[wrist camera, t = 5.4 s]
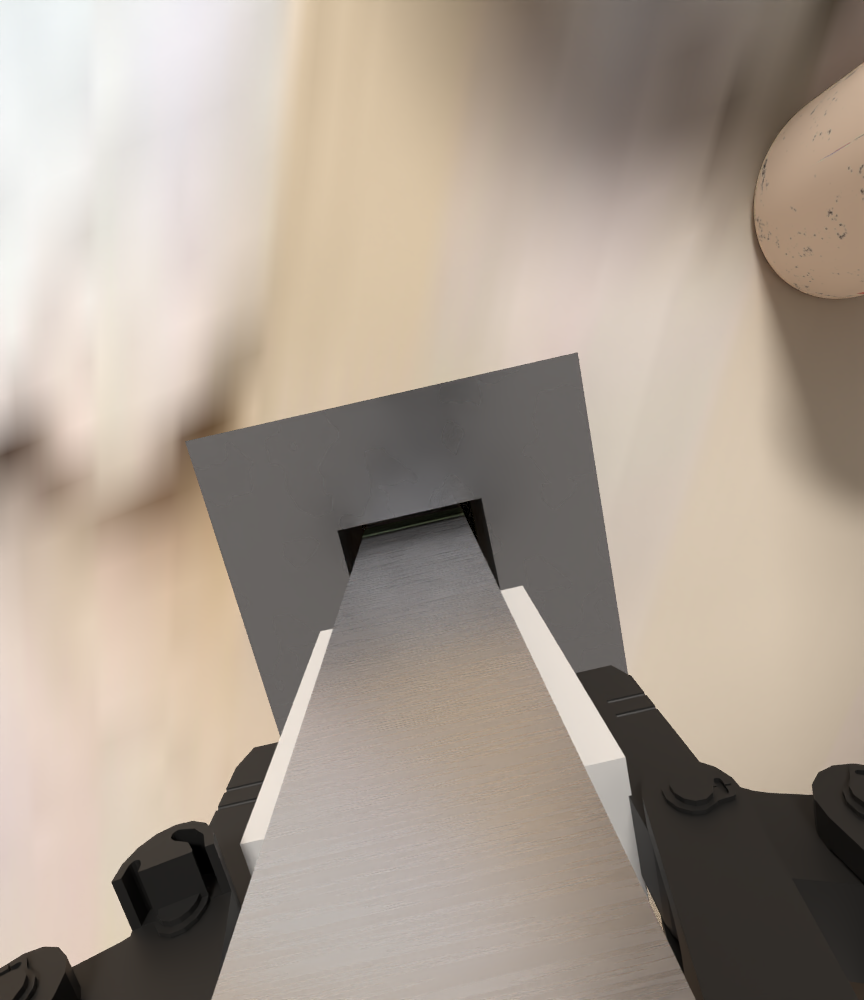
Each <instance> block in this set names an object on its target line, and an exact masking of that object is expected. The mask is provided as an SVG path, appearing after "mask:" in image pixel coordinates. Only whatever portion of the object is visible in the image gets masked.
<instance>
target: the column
mask: <svg viewBox="0 0 864 1000" xmlns="http://www.w3.org/2000/svg"><path fill="white" fill-rule="evenodd" d="M211 1000H696V999H695V997H694V995H693V993H692V991H691V989H690V987H689V985H688V982H687V980H686V978H685V976H684V974H683V972H682V970H681V968H680V966H679V964H678V962H677V959H676V957H675V955H674V953H673V951H672V949H671V947H670V945H669V943H668V941H667V939H666V936H665V934H664V932H663V930H662V928H661V926H660V924H659V922H658V920H657V918H656V915H655V913H654V911H653V909H652V907H651V905H650V903H649V901H648V899H647V897H646V895H645V892H644V890H643V888H642V886H641V884H640V882H639V880H638V878H637V876H636V874H635V872H634V869H633V867H632V865H631V863H630V861H629V859H628V857H627V855H626V853H625V851H624V849H623V846H622V844H621V842H620V840H619V838H618V836H617V834H616V832H615V830H614V828H613V826H612V823H611V821H610V819H609V817H608V815H607V813H606V811H605V809H604V807H603V805H602V802H601V800H600V798H599V796H598V794H597V792H596V790H595V788H594V786H593V784H592V782H591V779H590V777H589V775H588V773H587V771H586V769H585V767H584V765H583V763H582V761H581V759H580V756H579V754H578V752H577V750H576V748H575V746H574V744H573V742H572V740H571V738H570V736H569V733H568V731H567V729H566V727H565V725H564V723H563V721H562V719H561V717H560V715H559V712H558V710H557V708H556V706H555V704H554V702H553V700H552V698H551V696H550V694H549V692H548V689H547V687H546V685H545V683H544V681H543V679H542V677H541V675H540V673H539V671H538V669H537V666H536V664H535V662H534V660H533V658H532V656H531V654H530V652H529V650H528V648H527V646H526V643H525V641H524V639H523V637H522V635H521V633H520V631H519V629H518V627H517V625H516V623H515V620H514V618H513V616H512V614H511V612H510V610H509V608H508V606H507V604H506V602H505V599H504V597H503V595H502V593H501V591H500V589H499V587H498V585H497V583H496V581H495V579H494V576H493V574H492V572H491V570H490V568H489V566H488V564H487V562H486V560H485V558H484V556H483V553H482V551H481V549H480V547H479V545H478V543H477V541H476V539H475V537H474V535H473V533H472V530H471V528H470V526H469V524H468V522H467V520H466V518H465V516H464V512H463V510H462V508H461V507H460V505H459V503H457V504H452V505H448V506H444V507H439V508H435V509H430V510H426V511H422V512H417V513H413V514H408V515H404V516H400V517H395V518H391V519H386V520H382V521H378V522H373V523H369V524H367V527H366V529H365V531H364V534H363V539H362V542H361V545H360V548H359V551H358V554H357V557H356V560H355V563H354V566H353V569H352V572H351V575H350V578H349V582H348V585H347V588H346V591H345V594H344V597H343V600H342V603H341V606H340V609H339V612H338V615H337V618H336V621H335V624H334V627H333V630H332V633H331V636H330V639H329V643H328V646H327V649H326V652H325V655H324V658H323V661H322V664H321V667H320V670H319V673H318V676H317V679H316V682H315V685H314V688H313V691H312V694H311V697H310V700H309V704H308V707H307V710H306V713H305V716H304V719H303V722H302V725H301V728H300V731H299V734H298V737H297V740H296V743H295V746H294V749H293V752H292V755H291V758H290V761H289V765H288V768H287V771H286V774H285V777H284V780H283V783H282V786H281V789H280V792H279V795H278V798H277V801H276V804H275V807H274V810H273V813H272V816H271V819H270V823H269V826H268V829H267V832H266V835H265V838H264V841H263V844H262V847H261V850H260V853H259V856H258V859H257V862H256V865H255V868H254V871H253V874H252V877H251V880H250V884H249V887H248V890H247V893H246V896H245V899H244V902H243V905H242V908H241V911H240V914H239V917H238V920H237V923H236V926H235V929H234V932H233V935H232V938H231V941H230V945H229V948H228V951H227V954H226V957H225V960H224V963H223V966H222V969H221V972H220V975H219V978H218V981H217V984H216V987H215V990H214V993H213V996H212V999H211Z"/></svg>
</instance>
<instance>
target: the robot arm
mask: <svg viewBox="0 0 864 1000" xmlns="http://www.w3.org/2000/svg"><path fill="white" fill-rule="evenodd" d="M501 593H502V595H503V597H504V599H505V602H506V604H507V606H508V608H509V610H510V612H511V614H512V616H513V618H514V620H515V623H516V625H517V627H518V629H519V631H520V633H521V635H522V637H523V639H524V641H525V643H526V646H527V648H528V650H529V652H530V654H531V656H532V658H533V660H534V662H535V664H536V666H537V669H538V671H539V673H540V675H541V677H542V679H543V681H544V683H545V685H546V687H547V689H548V692H549V694H550V696H551V698H552V700H553V702H554V704H555V706H556V708H557V710H558V712H559V715H560V717H561V719H562V721H563V723H564V725H565V727H566V729H567V731H568V733H569V736H570V738H571V740H572V742H573V744H574V746H575V748H576V750H577V752H578V754H579V756H580V759H581V761H582V763H583V765H584V767H585V769H586V771H587V773H588V775H589V777H590V779H591V782H592V784H593V786H594V788H595V790H596V792H597V794H598V796H599V798H600V800H601V802H602V805H603V807H604V809H605V811H606V813H607V815H608V817H609V819H610V821H611V823H612V826H613V828H614V830H615V832H616V834H617V836H618V838H619V840H620V842H621V844H622V846H623V849H624V851H625V853H626V855H627V857H628V859H629V861H630V863H631V865H632V867H633V869H634V872H635V874H636V876H637V878H638V880H639V882H640V884H641V886H642V888H643V890H644V892H645V895H646V897H647V899H648V893H647V887H648V890H649V892H650V894H651V896H652V898H653V900H654V902H655V904H656V906H657V908H658V910H659V912H660V914H661V919H662V926H663V932H664V934H665V936H666V939H667V941H668V943H669V945H670V947H671V949H672V951H673V953H674V955H675V957H676V959H677V962H678V964H679V966H680V968H681V970H682V972H683V974H684V976H685V978H686V980H687V982H688V985H689V987H690V989H691V991H692V993H693V995H694V997H695V999H696V1000H864V765H860V764H843V765H833V766H831V767H829V768H827V769H825V770H823V771H821V772H819V773H818V774H817V776H816V778H815V780H814V782H813V784H812V790H813V795H800V794H779V793H766V792H758V791H752V790H748V789H745V788H741V787H740V786H739V785H738V784H737V783H736V782H735V780H734V779H733V778H732V777H730V776H729V775H727V774H726V773H724V772H722V771H721V770H719V769H718V768H716V767H714V766H711V765H707V764H704V763H701V762H699V761H698V759H697V758H696V757H695V756H694V754H693V753H692V752H691V750H690V749H689V748H688V747H687V745H686V744H685V743H684V742H683V740H682V739H681V738H680V737H679V735H678V734H677V733H676V732H675V730H674V729H673V728H672V727H671V725H670V724H669V723H668V722H667V720H666V719H665V718H664V717H663V715H662V714H661V713H660V712H659V710H658V709H656V708H655V705H654V704H653V703H652V701H651V700H650V699H649V698H648V696H647V695H646V696H645V694H644V691H643V690H642V689H641V688H640V686H639V685H638V684H637V683H636V681H635V680H634V679H633V678H632V676H630V675H628V674H626V673H625V672H623V671H621V670H619V669H617V668H616V667H614V666H612V665H609V666H605V667H600V668H596V669H591V670H587V671H583V672H578V673H575V672H574V671H573V669H572V667H571V666H570V664H569V662H568V661H567V659H566V657H565V656H564V654H563V652H562V651H561V649H560V647H559V646H558V644H557V642H556V641H555V639H554V637H553V636H552V634H551V632H550V631H549V629H548V627H547V626H546V624H545V622H544V621H543V619H542V617H541V616H540V614H539V612H538V611H537V609H536V607H535V606H534V604H533V602H532V601H531V599H530V597H529V596H528V594H527V592H526V591H525V589H524V587H523V586H519V587H514V588H510V589H505V590H501ZM332 630H333V629H329V630H324V631H320V634H319V636H318V639H317V641H316V644H315V647H314V649H313V652H312V655H311V657H310V660H309V663H308V665H307V668H306V671H305V673H304V676H303V679H302V681H301V684H300V686H299V689H298V692H297V694H296V697H295V700H294V702H293V705H292V708H291V710H290V713H289V716H288V718H287V721H286V724H285V726H284V729H283V732H282V734H281V737H280V739H279V742H277V743H273V744H268V745H264V746H259V747H255V748H253V749H252V751H251V752H250V753H249V754H248V755H247V756H246V757H245V758H244V759H243V761H242V762H241V763H240V764H239V765H238V766H237V767H236V769H235V771H234V773H233V776H232V778H231V780H230V782H229V784H228V786H227V788H226V789H227V792H226V793H224V795H223V797H222V799H221V801H220V803H219V806H218V811H216V812H215V814H214V816H213V818H212V821H211V823H210V825H209V826H208V825H207V824H206V823H203V822H196V821H191V822H187V823H182V824H178V825H175V826H173V827H171V828H169V829H166V830H164V831H162V832H160V833H158V834H156V835H155V836H154V837H152V838H151V839H150V840H148V841H147V842H146V843H144V844H143V845H141V846H140V847H139V848H138V849H137V850H136V851H135V852H134V853H133V854H132V855H131V856H130V857H129V858H128V859H127V860H126V861H125V862H124V863H123V864H122V866H121V867H120V869H119V871H118V872H117V874H116V875H115V877H114V879H113V880H112V885H113V887H114V889H115V892H116V894H117V896H118V899H119V901H120V903H121V906H122V908H123V910H124V912H125V915H126V917H127V919H128V922H129V924H130V926H131V929H132V933H131V936H130V937H129V938H127V939H125V940H124V941H122V942H120V943H118V944H116V945H115V946H113V947H111V948H109V949H107V950H105V951H103V952H101V953H99V954H97V955H95V956H93V957H91V958H89V959H87V960H85V961H83V962H81V963H79V964H78V965H76V966H74V967H71V965H70V963H69V961H68V959H67V956H66V955H65V954H64V953H63V952H62V951H61V949H60V948H59V947H42V948H39V949H36V950H33V951H31V952H28V953H25V954H23V955H21V956H20V957H18V958H16V959H15V960H13V961H11V962H10V963H8V964H7V965H5V966H3V967H2V968H0V1000H211V999H212V996H213V993H214V990H215V987H216V984H217V981H218V978H219V975H220V972H221V969H222V966H223V963H224V960H225V957H226V954H227V951H228V948H229V945H230V941H231V938H232V935H233V932H234V929H235V926H236V923H237V920H238V917H239V914H240V911H241V908H242V905H243V902H244V899H245V896H246V893H247V890H248V887H249V884H250V880H251V877H252V874H253V871H254V868H255V865H256V862H257V859H258V856H259V853H260V850H261V847H262V844H263V841H264V838H265V835H266V832H267V829H268V826H269V823H270V819H271V816H272V813H273V810H274V807H275V804H276V801H277V798H278V795H279V792H280V789H281V786H282V783H283V780H284V777H285V774H286V771H287V768H288V765H289V761H290V758H291V755H292V752H293V749H294V746H295V743H296V740H297V737H298V734H299V731H300V728H301V725H302V722H303V719H304V716H305V713H306V710H307V707H308V704H309V700H310V697H311V694H312V691H313V688H314V685H315V682H316V679H317V676H318V673H319V670H320V667H321V664H322V661H323V658H324V655H325V652H326V649H327V646H328V643H329V639H330V636H331V633H332ZM646 885H647V887H646ZM648 901H649V899H648Z"/></svg>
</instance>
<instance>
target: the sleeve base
mask: <svg viewBox="0 0 864 1000" xmlns="http://www.w3.org/2000/svg"><path fill="white" fill-rule="evenodd" d="M185 442H186V445H187V448H188V451H189V455H190V458H191V461H192V464H193V467H194V470H195V473H196V476H197V479H198V483H199V486H200V489H201V492H202V495H203V498H204V501H205V504H206V507H207V510H208V514H209V517H210V520H211V523H212V526H213V529H214V532H215V535H216V538H217V541H218V545H219V548H220V551H221V554H222V557H223V560H224V563H225V566H226V569H227V573H228V576H229V579H230V582H231V585H232V588H233V591H234V594H235V597H236V600H237V604H238V607H239V610H240V613H241V616H242V619H243V622H244V625H245V628H246V631H247V635H248V638H249V641H250V644H251V647H252V650H253V653H254V656H255V659H256V663H257V666H258V669H259V672H260V675H261V678H262V681H263V684H264V687H265V690H266V694H267V697H268V700H269V703H270V706H271V709H272V712H273V715H274V718H275V721H276V725H277V728H278V731H279V734H280V737H281V734H282V732H283V729H284V726H285V724H286V721H287V718H288V716H289V713H290V710H291V708H292V705H293V702H294V700H295V697H296V694H297V692H298V689H299V686H300V684H301V681H302V679H303V676H304V673H305V671H306V668H307V665H308V663H309V660H310V657H311V655H312V652H313V649H314V647H315V644H316V641H317V639H318V636H319V634H320V631H324V630H329V629H333V627H334V624H335V621H336V618H337V615H338V612H339V609H340V606H341V603H342V600H343V597H344V594H345V591H346V588H347V585H348V582H349V578H350V575H351V572H352V569H353V566H354V563H355V560H356V557H357V554H358V551H359V548H360V545H361V542H362V539H363V530H362V526H361V525H364V524H369V523H373V522H378V521H382V520H386V519H391V518H395V517H400V516H404V515H408V514H413V513H417V512H422V511H426V510H430V509H435V508H439V507H444V506H448V505H452V504H457V503H461V502H466V501H470V505H471V510H472V515H473V520H474V524H475V529H476V534H477V539H478V543H479V547H480V549H481V551H482V553H483V556H484V558H485V560H486V562H487V564H488V566H489V568H490V570H491V572H492V574H493V576H494V579H495V581H496V583H497V585H498V587H499V589H500V591H501V590H505V589H510V588H514V587H519V586H523V587H524V589H525V591H526V592H527V594H528V596H529V597H530V599H531V601H532V602H533V604H534V606H535V607H536V609H537V611H538V612H539V614H540V616H541V617H542V619H543V621H544V622H545V624H546V626H547V627H548V629H549V631H550V632H551V634H552V636H553V637H554V639H555V641H556V642H557V644H558V646H559V647H560V649H561V651H562V652H563V654H564V656H565V657H566V659H567V661H568V662H569V664H570V666H571V667H572V669H573V671H574V672H575V673H578V672H583V671H587V670H591V669H596V668H600V667H605V666H609V665H612V666H614V667H616V668H617V669H619V670H621V671H623V672H625V673H626V674H628V672H627V666H626V659H625V653H624V646H623V640H622V634H621V627H620V621H619V614H618V608H617V602H616V595H615V589H614V582H613V576H612V570H611V563H610V557H609V550H608V544H607V538H606V531H605V525H604V518H603V512H602V506H601V499H600V493H599V487H598V480H597V474H596V467H595V461H594V455H593V448H592V442H591V435H590V429H589V423H588V416H587V410H586V403H585V397H584V391H583V384H582V378H581V371H580V365H579V359H578V353H573V354H569V355H564V356H560V357H556V358H551V359H547V360H542V361H538V362H534V363H529V364H525V365H520V366H516V367H511V368H507V369H503V370H498V371H494V372H489V373H485V374H481V375H476V376H472V377H467V378H463V379H459V380H454V381H450V382H445V383H441V384H437V385H432V386H428V387H423V388H419V389H415V390H410V391H406V392H401V393H397V394H392V395H388V396H384V397H379V398H375V399H370V400H366V401H362V402H357V403H353V404H348V405H344V406H340V407H335V408H331V409H326V410H322V411H318V412H313V413H309V414H304V415H300V416H296V417H291V418H287V419H282V420H278V421H273V422H269V423H265V424H260V425H256V426H251V427H247V428H243V429H238V430H234V431H229V432H225V433H221V434H216V435H212V436H207V437H203V438H199V439H194V440H190V441H185Z"/></svg>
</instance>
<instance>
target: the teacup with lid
mask: <svg viewBox="0 0 864 1000" xmlns="http://www.w3.org/2000/svg"><path fill="white" fill-rule="evenodd" d="M754 221H755V228H756V233H757V237H758V241H759V243H760V246H761V249H762V251H763V253H764V255H765V257H766V259H767V261H768V262H769V264H770V265H771V267H772V268H773V269H774V271H775V272H776V273H777V274H778V275H779V276H780V277H781V278H782V279H783V280H784V281H785V282H787V283H788V284H789V285H791V286H792V287H794V288H796V289H798V290H800V291H801V292H804V293H807V294H809V295H812V296H816V297H820V298H827V299H843V298H851V297H857V296H861V295H864V63H862V64H861V65H859V66H858V67H857V68H855V69H854V70H853V71H851V72H850V73H849V74H847V75H846V76H845V77H843V78H842V79H841V80H839V81H838V82H836V83H835V84H834V85H832V86H831V87H830V88H828V89H827V90H826V91H824V92H823V93H822V94H820V95H819V96H818V97H816V98H815V99H813V100H812V101H811V102H809V103H808V104H807V105H806V106H804V107H803V108H802V109H801V110H800V111H798V112H797V113H796V114H795V115H794V116H793V117H792V118H791V119H790V120H789V122H788V123H787V124H786V125H785V126H784V127H783V129H782V130H781V131H780V133H779V134H778V135H777V137H776V138H775V140H774V142H773V143H772V145H771V147H770V149H769V151H768V153H767V155H766V157H765V159H764V162H763V164H762V167H761V169H760V173H759V176H758V180H757V184H756V189H755V197H754Z"/></svg>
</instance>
